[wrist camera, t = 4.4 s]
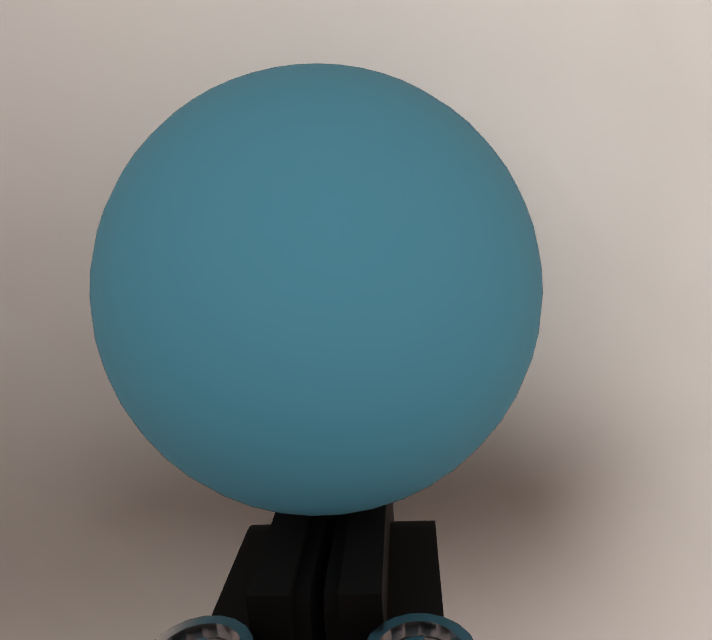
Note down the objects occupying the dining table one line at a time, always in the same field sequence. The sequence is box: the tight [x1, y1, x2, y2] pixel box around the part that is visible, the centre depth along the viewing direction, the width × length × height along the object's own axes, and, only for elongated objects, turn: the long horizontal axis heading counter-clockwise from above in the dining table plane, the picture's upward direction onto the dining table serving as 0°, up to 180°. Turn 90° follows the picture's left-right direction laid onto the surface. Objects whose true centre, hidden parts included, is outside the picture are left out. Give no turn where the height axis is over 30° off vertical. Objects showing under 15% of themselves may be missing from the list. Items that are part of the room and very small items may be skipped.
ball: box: [90, 64, 543, 516], centre depth 9 cm, size 6×6×6 cm
